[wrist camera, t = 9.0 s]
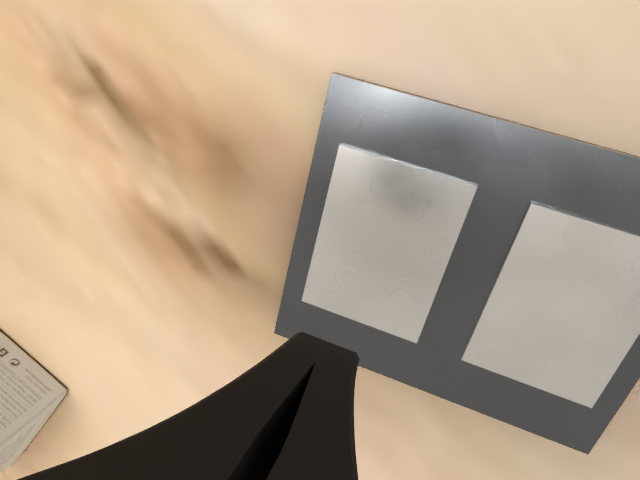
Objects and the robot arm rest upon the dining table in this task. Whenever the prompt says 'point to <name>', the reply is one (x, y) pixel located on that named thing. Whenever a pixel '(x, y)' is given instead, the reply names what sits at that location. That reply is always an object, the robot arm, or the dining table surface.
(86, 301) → the dining table surface
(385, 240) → the label panel
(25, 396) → the small box
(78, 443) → the dining table surface
